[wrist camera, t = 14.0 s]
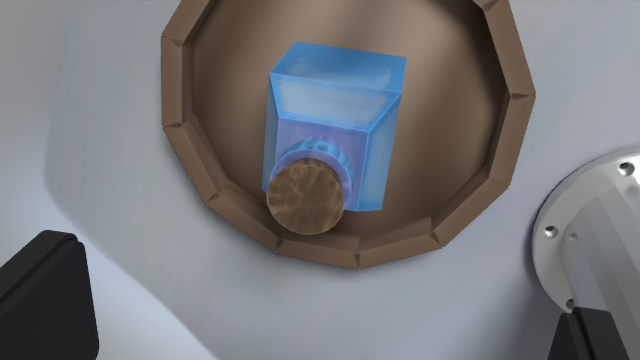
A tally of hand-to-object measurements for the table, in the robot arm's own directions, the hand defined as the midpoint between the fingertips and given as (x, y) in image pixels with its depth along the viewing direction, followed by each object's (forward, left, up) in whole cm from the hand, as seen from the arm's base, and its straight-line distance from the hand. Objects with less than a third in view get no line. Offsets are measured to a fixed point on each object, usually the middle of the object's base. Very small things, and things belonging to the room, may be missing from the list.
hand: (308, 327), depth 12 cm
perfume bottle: (+2, +4, -24) cm, 24 cm away
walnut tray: (+2, +4, -25) cm, 25 cm away
